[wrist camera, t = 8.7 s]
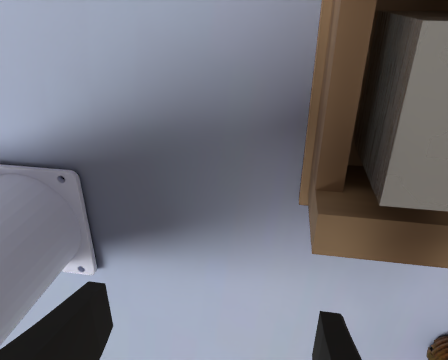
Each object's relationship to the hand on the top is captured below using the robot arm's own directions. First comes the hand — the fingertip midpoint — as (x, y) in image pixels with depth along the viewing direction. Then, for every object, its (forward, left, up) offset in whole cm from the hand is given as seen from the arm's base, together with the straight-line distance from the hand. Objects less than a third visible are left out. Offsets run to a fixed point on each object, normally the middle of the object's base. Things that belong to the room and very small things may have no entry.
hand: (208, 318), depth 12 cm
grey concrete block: (+7, +6, -9) cm, 13 cm away
